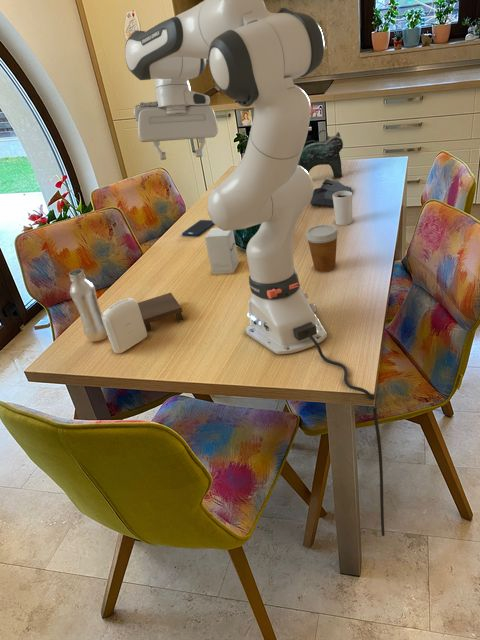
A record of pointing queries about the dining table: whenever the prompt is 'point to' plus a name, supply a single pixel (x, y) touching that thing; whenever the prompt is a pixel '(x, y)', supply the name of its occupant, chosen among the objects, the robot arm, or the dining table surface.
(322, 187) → the dark slate chunk
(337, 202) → the white paper cup
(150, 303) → the walnut riser
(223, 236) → the white packaging box
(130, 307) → the photo printer
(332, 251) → the disposable coffee cup
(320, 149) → the ceramic cat
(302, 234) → the dining table surface
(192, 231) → the cell phone
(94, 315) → the aluminum water bottle
